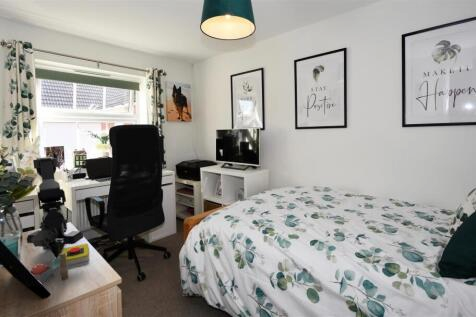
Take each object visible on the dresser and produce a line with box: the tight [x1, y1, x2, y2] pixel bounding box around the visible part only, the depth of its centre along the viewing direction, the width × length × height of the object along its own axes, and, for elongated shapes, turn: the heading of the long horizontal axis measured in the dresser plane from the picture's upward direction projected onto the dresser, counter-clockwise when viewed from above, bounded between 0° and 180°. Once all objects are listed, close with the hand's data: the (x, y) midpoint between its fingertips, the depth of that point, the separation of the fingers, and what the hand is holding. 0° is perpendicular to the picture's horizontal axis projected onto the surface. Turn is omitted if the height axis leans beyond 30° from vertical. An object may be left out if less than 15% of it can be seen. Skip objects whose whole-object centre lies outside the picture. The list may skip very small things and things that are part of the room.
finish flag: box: [51, 252, 69, 281], centre depth 88 cm, size 5×2×9 cm, turn 176°
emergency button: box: [61, 243, 90, 269], centre depth 104 cm, size 9×4×15 cm
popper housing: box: [30, 265, 55, 285], centre depth 89 cm, size 5×5×4 cm
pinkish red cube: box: [31, 263, 47, 275], centre depth 89 cm, size 4×4×4 cm
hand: (57, 257), depth 102 cm, fingers closed
